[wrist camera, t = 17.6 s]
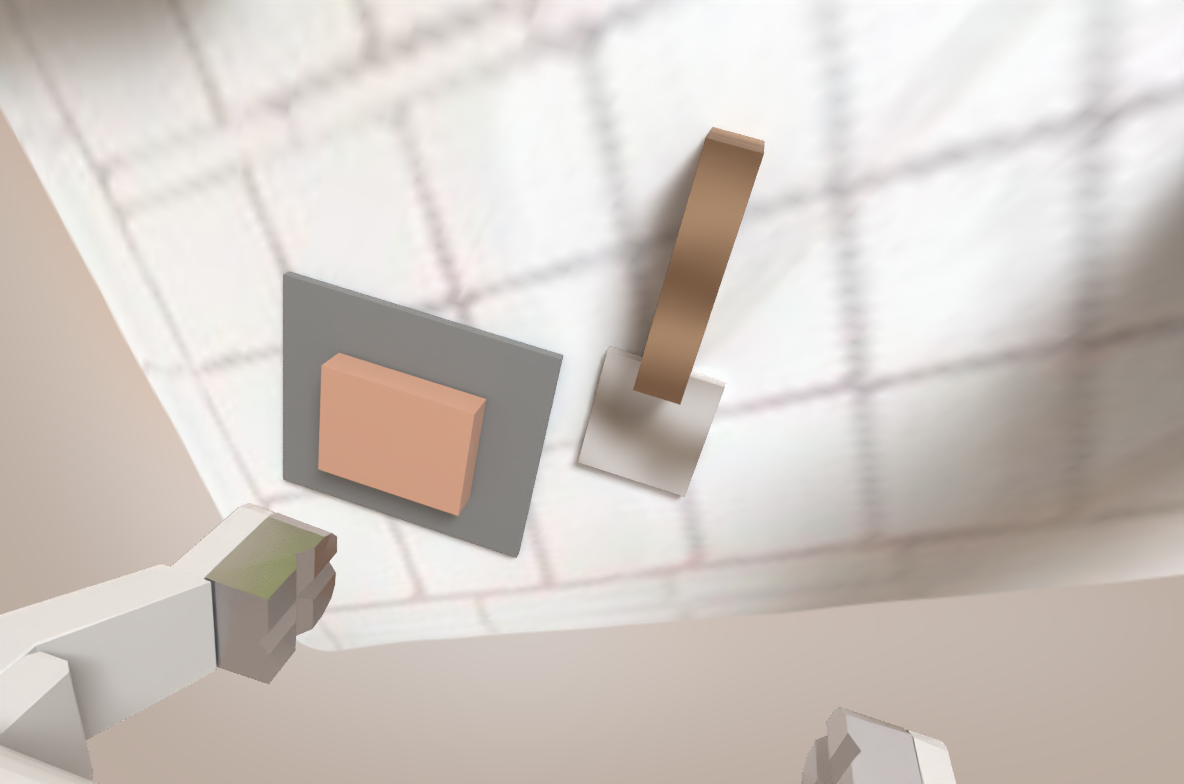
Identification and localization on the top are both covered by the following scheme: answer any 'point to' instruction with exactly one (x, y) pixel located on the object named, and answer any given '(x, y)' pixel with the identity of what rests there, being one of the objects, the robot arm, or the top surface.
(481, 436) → the mat
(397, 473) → the tile
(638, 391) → the turner
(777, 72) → the top surface
